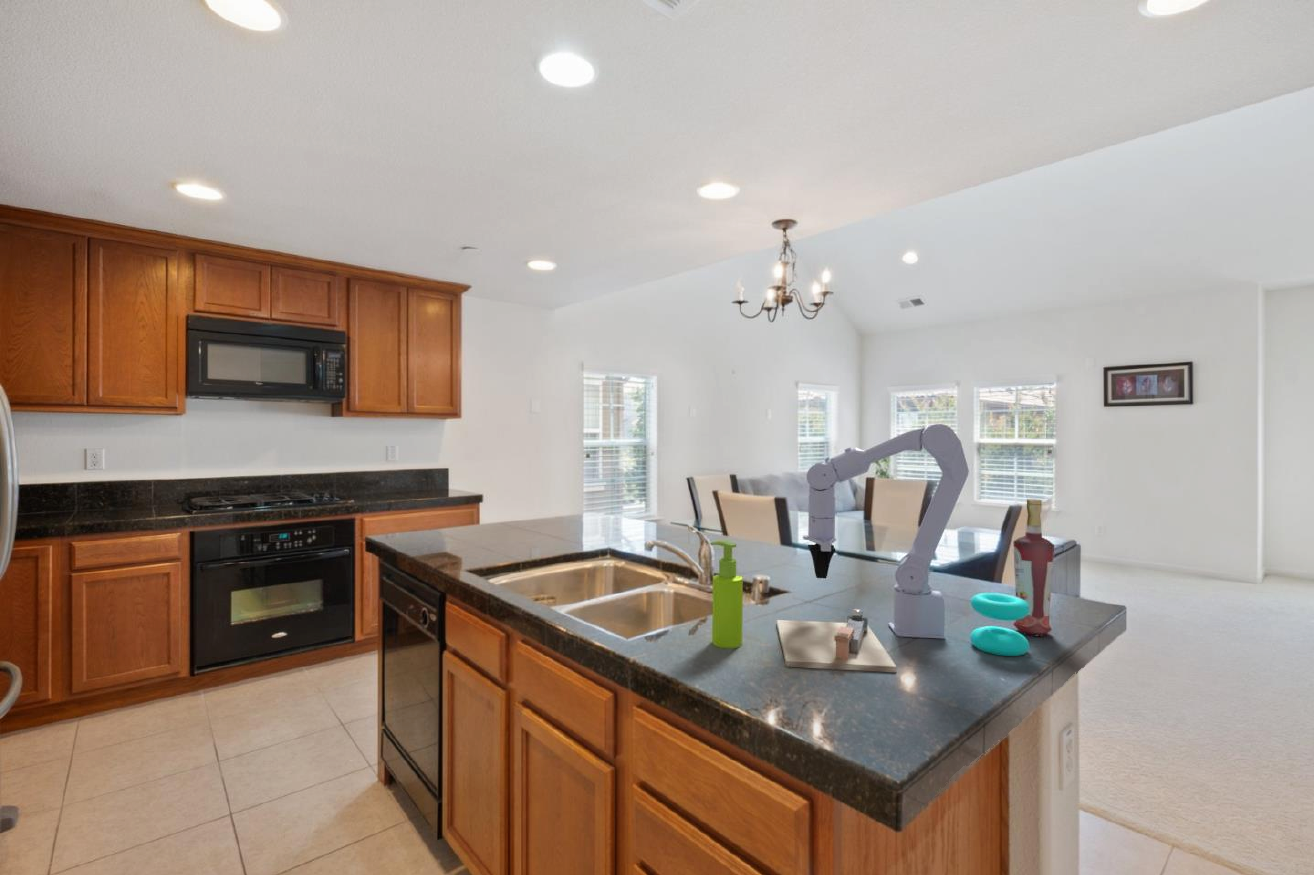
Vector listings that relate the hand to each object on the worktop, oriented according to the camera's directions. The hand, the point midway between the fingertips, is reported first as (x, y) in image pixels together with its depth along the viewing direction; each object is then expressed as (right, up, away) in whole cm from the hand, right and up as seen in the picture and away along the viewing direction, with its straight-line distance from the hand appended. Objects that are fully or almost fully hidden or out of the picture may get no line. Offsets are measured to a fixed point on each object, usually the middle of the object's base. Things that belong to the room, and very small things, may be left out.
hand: (821, 577), depth 138 cm
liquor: (+42, -10, -8) cm, 44 cm away
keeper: (-2, -9, -23) cm, 25 cm away
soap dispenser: (-23, -10, -15) cm, 29 cm away
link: (+2, -8, -16) cm, 18 cm away
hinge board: (-3, -10, -17) cm, 19 cm away
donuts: (+30, -10, -18) cm, 36 cm away
